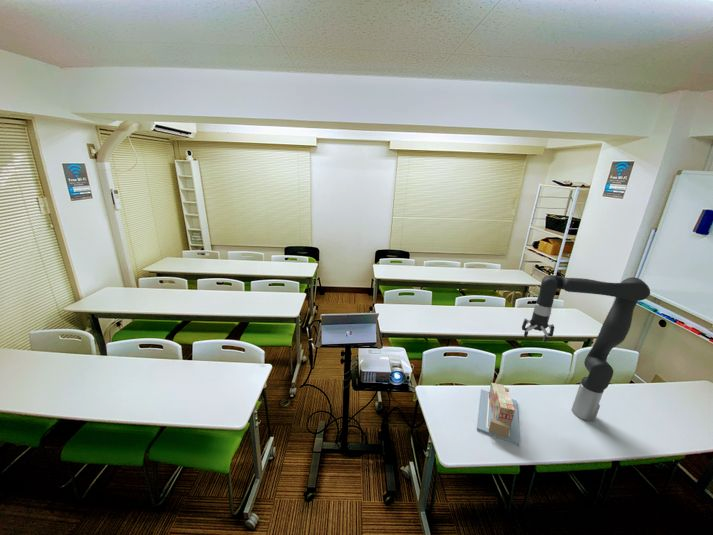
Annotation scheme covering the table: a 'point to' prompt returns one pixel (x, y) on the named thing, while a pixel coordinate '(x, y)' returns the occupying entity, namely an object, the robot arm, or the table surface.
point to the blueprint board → (483, 419)
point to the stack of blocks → (501, 404)
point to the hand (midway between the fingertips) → (534, 339)
